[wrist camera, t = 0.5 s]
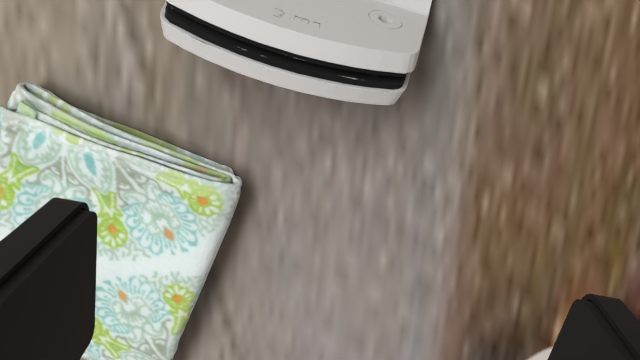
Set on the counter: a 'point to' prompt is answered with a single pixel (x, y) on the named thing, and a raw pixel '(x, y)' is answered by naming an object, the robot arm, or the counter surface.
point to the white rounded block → (307, 42)
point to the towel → (120, 214)
